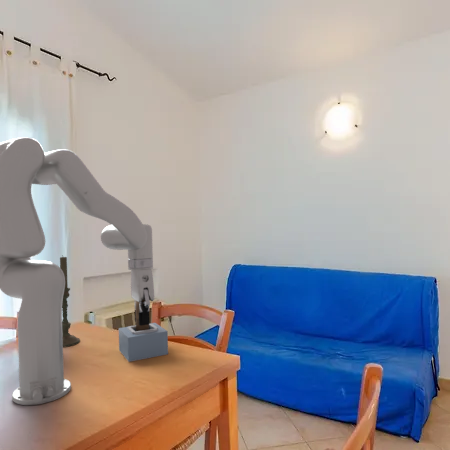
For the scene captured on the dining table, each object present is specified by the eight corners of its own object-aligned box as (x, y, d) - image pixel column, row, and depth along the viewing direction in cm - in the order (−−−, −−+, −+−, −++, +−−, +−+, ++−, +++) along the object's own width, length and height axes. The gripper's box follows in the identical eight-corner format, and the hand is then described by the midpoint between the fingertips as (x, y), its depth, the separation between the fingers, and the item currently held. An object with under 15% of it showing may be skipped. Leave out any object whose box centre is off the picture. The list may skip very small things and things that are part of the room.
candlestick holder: (52, 340, 133) (50, 254, 133) (80, 337, 136) (78, 253, 136) (49, 348, 125) (46, 256, 125) (79, 345, 127) (76, 255, 127)
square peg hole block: (168, 354, 116) (167, 329, 116) (128, 361, 111) (127, 335, 111) (155, 343, 127) (155, 320, 127) (119, 350, 121) (118, 326, 121)
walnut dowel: (151, 340, 118) (149, 294, 118) (138, 342, 116) (137, 296, 116) (147, 337, 121) (146, 292, 121) (134, 339, 119) (133, 294, 119)
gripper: (160, 265, 113) (162, 327, 113) (144, 261, 128) (146, 316, 128) (135, 267, 109) (137, 331, 109) (122, 262, 124) (123, 319, 124)
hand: (142, 322), depth 119 cm, fingers closed on walnut dowel, 3 cm apart
